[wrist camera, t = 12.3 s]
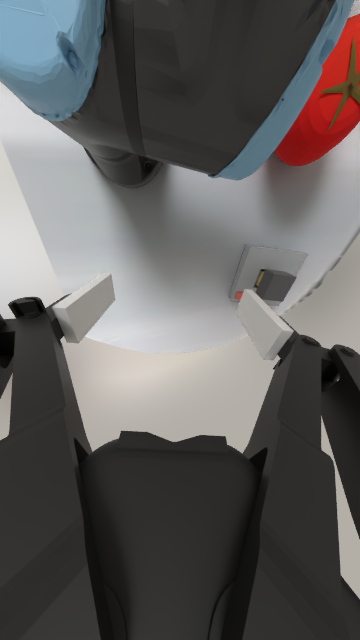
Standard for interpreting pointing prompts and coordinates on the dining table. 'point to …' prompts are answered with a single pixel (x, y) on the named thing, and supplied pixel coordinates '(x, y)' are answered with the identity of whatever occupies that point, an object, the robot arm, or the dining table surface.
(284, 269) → the socket plate
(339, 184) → the dining table surface
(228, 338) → the dining table surface
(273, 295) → the plug
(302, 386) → the robot arm
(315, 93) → the tomato
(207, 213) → the dining table surface
